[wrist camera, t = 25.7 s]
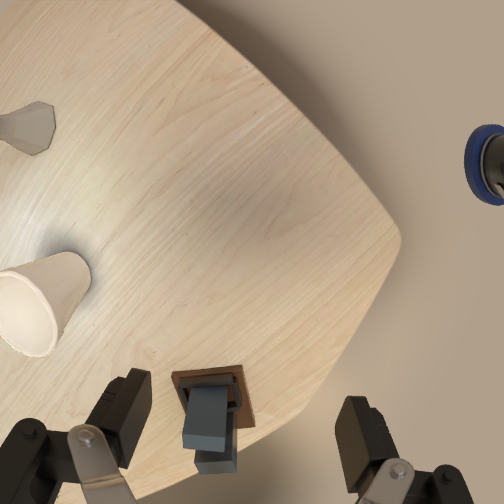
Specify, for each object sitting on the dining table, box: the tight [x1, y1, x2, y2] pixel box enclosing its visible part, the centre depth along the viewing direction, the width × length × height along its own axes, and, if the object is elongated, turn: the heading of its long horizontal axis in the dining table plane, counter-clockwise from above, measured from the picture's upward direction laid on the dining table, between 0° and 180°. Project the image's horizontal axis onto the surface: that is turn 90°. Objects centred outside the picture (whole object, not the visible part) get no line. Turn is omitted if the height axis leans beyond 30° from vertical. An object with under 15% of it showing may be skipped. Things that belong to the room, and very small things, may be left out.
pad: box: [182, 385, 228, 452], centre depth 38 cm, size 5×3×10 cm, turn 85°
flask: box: [0, 101, 55, 156], centre depth 28 cm, size 7×7×10 cm
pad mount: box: [171, 365, 255, 474], centre depth 39 cm, size 10×12×11 cm
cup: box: [0, 251, 91, 358], centre depth 32 cm, size 10×10×13 cm
